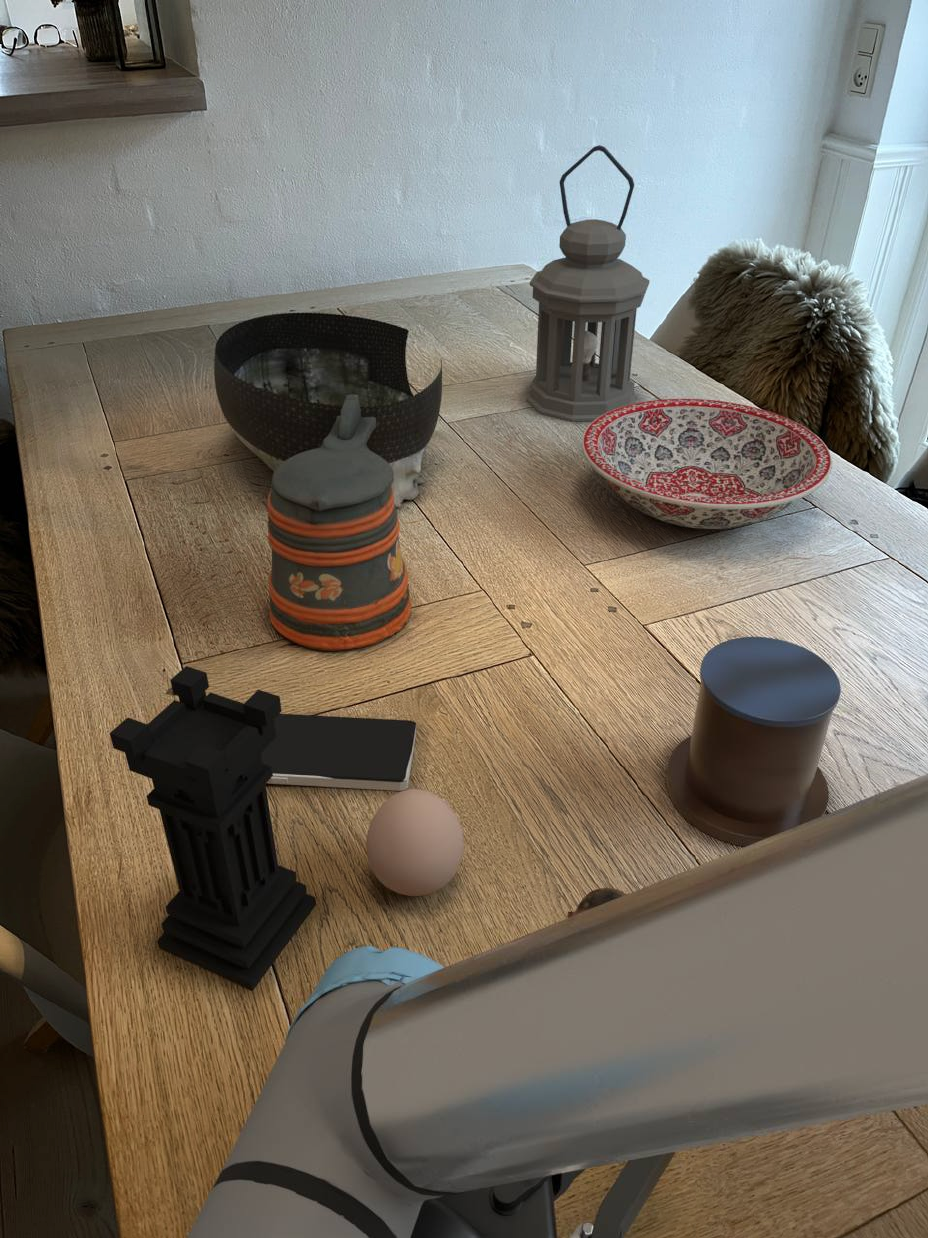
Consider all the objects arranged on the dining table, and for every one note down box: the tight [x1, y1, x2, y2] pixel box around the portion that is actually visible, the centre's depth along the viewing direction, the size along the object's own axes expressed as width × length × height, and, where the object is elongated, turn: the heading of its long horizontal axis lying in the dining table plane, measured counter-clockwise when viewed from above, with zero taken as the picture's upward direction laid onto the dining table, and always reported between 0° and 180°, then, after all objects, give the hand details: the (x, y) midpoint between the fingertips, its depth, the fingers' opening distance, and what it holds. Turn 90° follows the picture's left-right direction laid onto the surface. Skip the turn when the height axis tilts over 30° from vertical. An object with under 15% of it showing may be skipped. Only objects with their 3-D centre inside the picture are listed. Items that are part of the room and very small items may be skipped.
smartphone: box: [261, 713, 417, 792], centre depth 87 cm, size 8×1×15 cm
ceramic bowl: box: [581, 398, 833, 530], centre depth 121 cm, size 29×29×8 cm
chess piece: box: [108, 665, 317, 991], centre depth 67 cm, size 8×8×20 cm
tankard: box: [267, 394, 412, 652], centre depth 101 cm, size 19×15×20 cm
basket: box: [213, 312, 443, 509], centre depth 129 cm, size 28×35×16 cm
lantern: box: [525, 144, 650, 423], centre depth 141 cm, size 17×17×35 cm
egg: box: [365, 788, 465, 897], centre depth 73 cm, size 7×7×8 cm
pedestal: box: [665, 636, 842, 848], centre depth 80 cm, size 13×13×12 cm
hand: (640, 949), depth 59 cm, fingers closed on figurine, 6 cm apart
